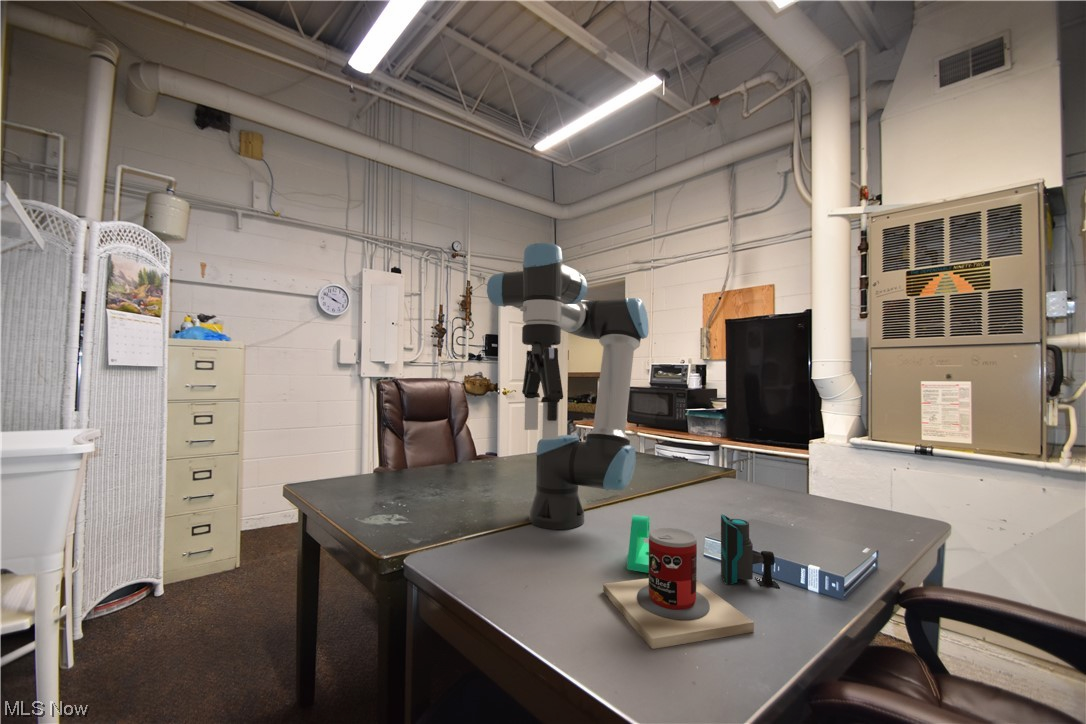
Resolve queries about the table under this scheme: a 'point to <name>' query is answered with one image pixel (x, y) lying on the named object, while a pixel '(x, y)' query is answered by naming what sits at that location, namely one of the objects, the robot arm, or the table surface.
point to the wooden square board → (676, 615)
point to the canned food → (672, 568)
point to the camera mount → (639, 544)
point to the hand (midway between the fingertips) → (539, 434)
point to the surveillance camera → (742, 554)
